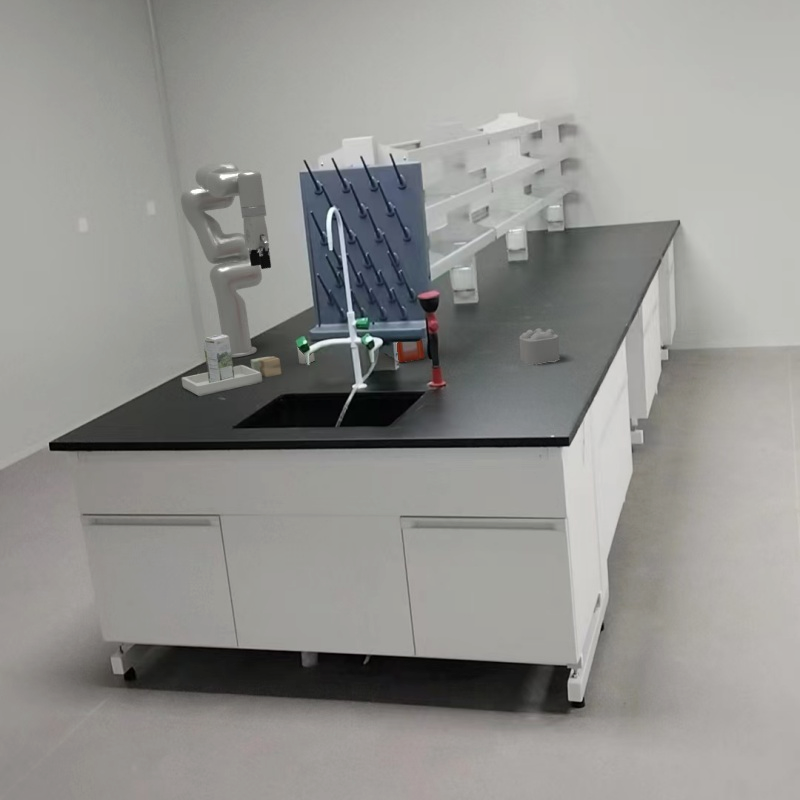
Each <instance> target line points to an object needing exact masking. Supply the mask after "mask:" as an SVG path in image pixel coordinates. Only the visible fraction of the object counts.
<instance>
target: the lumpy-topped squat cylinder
mask: <svg viewBox="0 0 800 800" xmlns="http://www.w3.org/2000/svg"><path fill="white" fill-rule="evenodd" d="M559 341H560V339H559V335H558V334H556V333H555V331H554V330H553V329H551V328H548V329H546V330H545V331H544V330H543V329H542V328H538V327H537V328H536V329H535V330H532V329H528V330H527V331H526V332H523V333H522V334H521V335H520V336H519V351H520V362H522V361H523V362H525V363H528V364H538V363H543V362H548V361H555V360H558V359H559V358H560V359H561V357H560V356H561V355H560V343H559ZM523 362H522V363H523ZM525 363H524V364H525ZM528 364H527V365H528Z"/></svg>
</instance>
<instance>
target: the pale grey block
mask: <svg viewBox="0 0 800 800" xmlns="http://www.w3.org/2000/svg"><path fill="white" fill-rule="evenodd" d="M296 348H297V355H298V363H299V364H301V365H307V364H306V362H305V355H304V354H303V353H302V352H301V351H300V350H299V348H298V347H297V346H296ZM313 361H315V362H316V360H315V352H314V353H312V354H311V355H310V363H309V364H312V363H311V362H313ZM313 363H314V362H313Z"/></svg>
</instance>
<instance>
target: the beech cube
mask: <svg viewBox="0 0 800 800" xmlns="http://www.w3.org/2000/svg"><path fill="white" fill-rule="evenodd" d="M267 357H268V356H267ZM262 358H263V357H262ZM258 360H259V366H260V372H261V375H262V377H265V378H269V377H270V378H271V377H274V376H278V375H282V366H281V360H280V357H279V358H278V357H276V356H273V355H272V356H269V357H268V358H263V359H258Z"/></svg>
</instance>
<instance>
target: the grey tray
mask: <svg viewBox="0 0 800 800" xmlns="http://www.w3.org/2000/svg"><path fill="white" fill-rule="evenodd" d="M233 370H234V377H235V378H231V379H226V380H221V381H217V382H212V383H209V378H208V371H207V372H202V373H197V374H193V375H188V376H182V377H181V383H182V388H184V389H185V390H187V391H189V392H191V393H192V394H194V395H197V396H198V397H202V396H206V395H211V394H216V393H220V392H224V391H229V390H233V389H238V388H243V387H248V386H251V385H257V384H260V383H261V384H262V383H263V375H261V372H258V371H256V370H254V369H252V367H248V366H246V365H244V364H239V365H235V366H233Z"/></svg>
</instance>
